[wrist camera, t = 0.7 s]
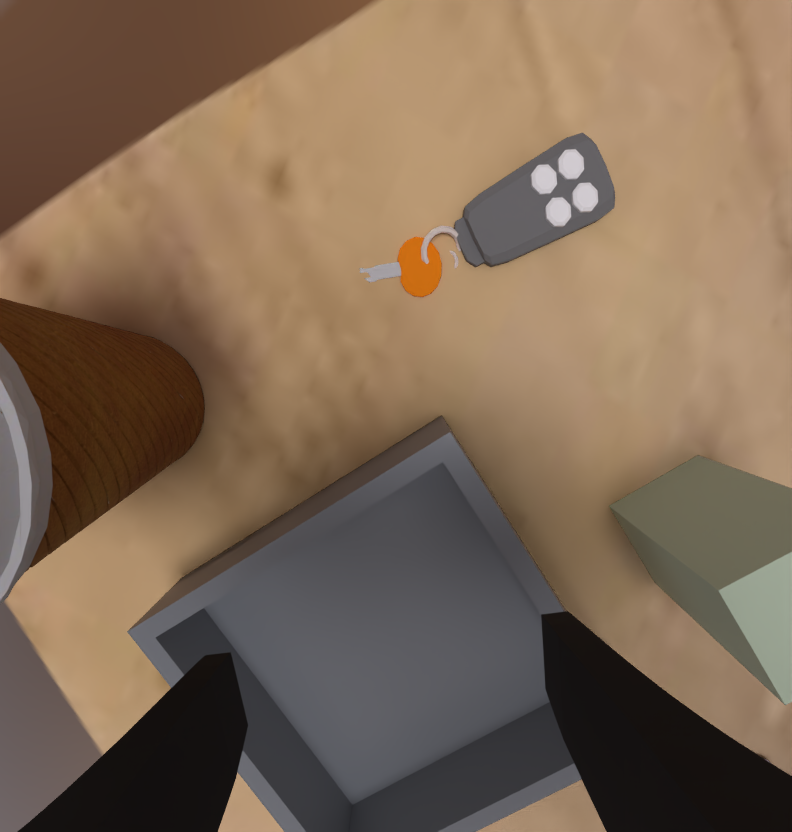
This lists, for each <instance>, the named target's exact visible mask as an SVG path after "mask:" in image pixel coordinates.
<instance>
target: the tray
mask: <svg viewBox="0 0 792 832" xmlns="http://www.w3.org/2000/svg"><path fill="white" fill-rule="evenodd" d="M565 611H566V610H565V608H564V607H563V605H562V604H561V602H560V600H559V599H558V597H557V596H556V594H555V593H554V591H553V589H552V588H551V586H550V585H549V583H548V582H547V580H546V578H545V577H544V575H543V574H542V572H541V571H540V569H539V567H538V566H537V564H536V563H535V561H534V560H533V558H532V556H531V555H530V553H529V552H528V550H527V549H526V547H525V545H524V544H523V542H522V541H521V539H520V538H519V536H518V534H517V533H516V531H515V530H514V528H513V527H512V525H511V523H510V522H509V520H508V519H507V517H506V516H505V514H504V512H503V511H502V509H501V508H500V506H499V505H498V503H497V501H496V500H495V498H494V497H493V495H492V494H491V492H490V490H489V489H488V487H487V486H486V484H485V483H484V481H483V479H482V478H481V476H480V475H479V473H478V472H477V470H476V468H475V467H474V465H473V464H472V462H471V461H470V459H469V457H468V456H467V454H466V453H465V451H464V450H463V448H462V446H461V445H460V443H459V442H458V440H457V439H456V437H455V435H454V434H453V432H452V431H451V429H450V428H449V426H448V424H447V423H446V421H445V420H444V418H443V417H442V415H441V416H440V417H438V418H437V419H435V420H433V421H432V422H430V423H429V424H427V425H425V426H424V427H422V428H421V429H419V430H417V431H416V432H414V433H413V434H411V435H409V436H408V437H406V438H405V439H403V440H401V441H400V442H398V443H397V444H395V445H393V446H392V447H390V448H389V449H387V450H385V451H384V452H382V453H381V454H379V455H377V456H376V457H374V458H373V459H371V460H369V461H368V462H366V463H365V464H363V465H362V466H360V467H358V468H357V469H355V470H354V471H352V472H350V473H349V474H347V475H346V476H344V477H342V478H341V479H339V480H338V481H336V482H334V483H333V484H331V485H330V486H328V487H326V488H325V489H323V490H322V491H320V492H318V493H317V494H315V495H314V496H312V497H310V498H309V499H307V500H306V501H304V502H302V503H301V504H299V505H298V506H296V507H294V508H293V509H291V510H290V511H288V512H286V513H285V514H283V515H282V516H280V517H278V518H277V519H275V520H274V521H272V522H270V523H269V524H267V525H266V526H264V527H262V528H261V529H259V530H258V531H256V532H254V533H253V534H251V535H250V536H248V537H246V538H245V539H243V540H242V541H240V542H238V543H237V544H235V545H234V546H232V547H230V548H229V549H227V550H226V551H224V552H222V553H221V554H219V555H218V556H216V557H214V558H213V559H211V560H210V561H208V562H206V563H205V564H203V565H202V566H200V567H198V568H197V569H195V570H194V571H192V572H190V573H189V574H187V575H186V576H184V577H182V578H181V579H180V580H179V581H178V582H177V583H176V584H175V585H174V586H173V587H172V588H171V589H170V590H169V591H168V592H167V593H166V594H165V595H164V596H163V597H162V598H161V599H160V600H159V601H158V602H157V603H156V604H155V605H154V606H153V607H152V608H151V609H150V610H149V611H148V612H147V613H146V614H145V615H144V616H143V617H142V618H141V619H140V620H139V621H138V622H137V623H136V624H135V625H134V626H133V627H131V628H130V629H129V630H128V631H127V632H128V633H129V635H130V636H131V637H132V638H133V640H134V641H135V642H136V643H137V645H138V646H139V647H140V649H141V650H142V651H143V652H144V654H145V655H146V656H147V657H148V659H149V660H150V661H151V662H152V664H153V665H154V666H155V668H156V669H157V670H158V671H159V673H160V674H161V675H162V676H163V678H164V679H165V680H166V682H167V683H168V684H169V685H170V687H171V688H172V687H173V686H174V685H175V684H176V683H177V682H178V681H179V680H180V679H181V678H182V677H183V676H184V675H185V674H186V673H187V672H188V671H189V670H190V669H191V668H192V667H193V666H194V665H195V664H196V663H197V662H198V661H199V660H200V659H201V658H203V657H204V656H205V655H211V654H220V653H228V652H231V655H232V659H233V663H234V667H235V671H236V676H237V680H238V684H239V688H240V693H241V697H242V701H243V705H244V709H245V714H246V718H247V722H248V728H247V733H246V737H245V742H244V746H243V751H242V755H241V759H240V763H239V767H238V771H237V772H238V773H239V774H240V776H241V777H242V778H243V779H244V781H245V782H246V783H247V785H248V786H249V787H250V788H251V790H252V791H253V792H254V793H255V795H256V796H257V797H258V799H259V800H260V801H261V802H262V804H263V805H264V806H265V807H266V809H267V810H268V811H269V813H270V814H271V815H272V816H273V818H274V819H275V820H276V821H277V823H278V824H279V825H280V827H281V828H282V829H283V830H284V832H476V831H478V830H480V829H482V828H484V827H486V826H488V825H490V824H492V823H494V822H496V821H498V820H500V819H502V818H504V817H506V816H508V815H510V814H512V813H514V812H516V811H518V810H520V809H522V808H524V807H526V806H528V805H530V804H532V803H534V802H536V801H538V800H541V799H543V798H545V797H547V796H549V795H551V794H553V793H555V792H557V791H559V790H561V789H563V788H565V787H567V786H569V785H571V784H573V783H575V782H577V781H579V780H581V776H580V774H579V772H578V770H577V768H576V766H575V764H574V761H573V759H572V757H571V755H570V753H569V751H568V749H567V746H566V744H565V742H564V740H563V737H562V734H561V732H560V729H559V726H558V723H557V721H556V718H555V715H554V712H553V710H552V707H551V704H550V701H549V698H548V695H547V692H546V689H545V673H544V655H543V638H542V620H541V614H549V613H557V612H565Z"/></svg>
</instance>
